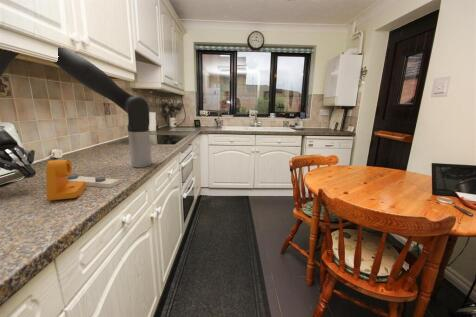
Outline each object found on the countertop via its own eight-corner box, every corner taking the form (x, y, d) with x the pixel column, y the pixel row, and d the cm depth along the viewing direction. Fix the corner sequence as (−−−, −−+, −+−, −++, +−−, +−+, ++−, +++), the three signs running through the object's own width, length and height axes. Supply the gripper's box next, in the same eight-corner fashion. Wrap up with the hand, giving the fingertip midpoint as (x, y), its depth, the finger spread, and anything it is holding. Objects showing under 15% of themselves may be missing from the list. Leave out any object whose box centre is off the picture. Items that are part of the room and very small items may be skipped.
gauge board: (66, 178, 86) (65, 172, 85) (119, 183, 82) (119, 177, 82) (53, 182, 81) (52, 176, 80) (110, 187, 77) (109, 181, 77)
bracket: (76, 200, 67) (70, 163, 64) (48, 203, 65) (40, 165, 62) (87, 187, 77) (82, 155, 74) (62, 190, 75) (56, 156, 72)
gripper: (-30, 132, 63) (14, 174, 64) (21, 128, 75) (57, 163, 77) (-39, 148, 65) (3, 189, 66) (12, 142, 77) (47, 176, 79)
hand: (32, 175), depth 71 cm, fingers closed
